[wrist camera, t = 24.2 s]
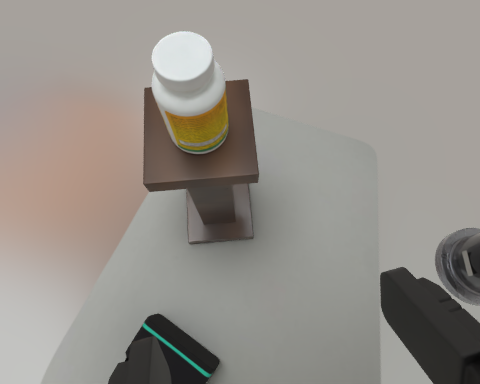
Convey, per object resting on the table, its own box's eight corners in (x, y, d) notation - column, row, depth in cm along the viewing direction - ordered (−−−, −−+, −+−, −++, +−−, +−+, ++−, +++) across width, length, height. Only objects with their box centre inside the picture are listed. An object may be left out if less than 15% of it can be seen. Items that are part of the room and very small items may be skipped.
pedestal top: (247, 91, 35) (248, 78, 33) (258, 182, 32) (258, 174, 30) (149, 99, 35) (144, 87, 33) (149, 192, 31) (143, 184, 30)
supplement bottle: (158, 127, 31) (123, 51, 22) (204, 94, 33) (188, 9, 24) (195, 168, 30) (173, 104, 21) (241, 132, 31) (239, 57, 22)
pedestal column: (247, 179, 58) (248, 86, 34) (253, 238, 54) (258, 179, 31) (187, 185, 57) (147, 95, 34) (189, 244, 54) (146, 189, 31)
